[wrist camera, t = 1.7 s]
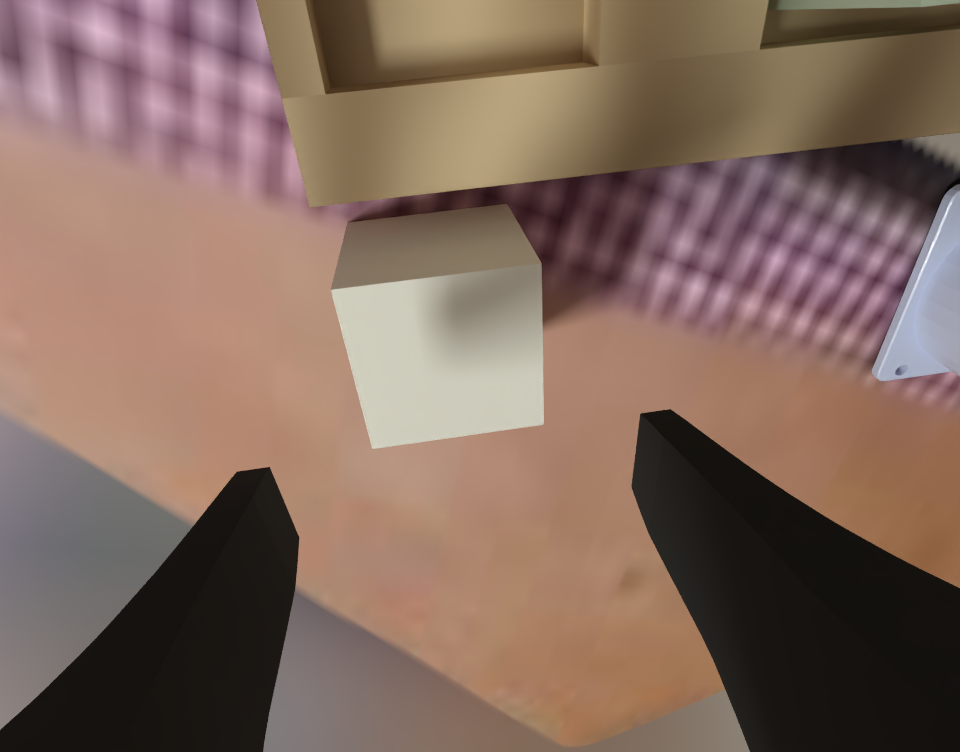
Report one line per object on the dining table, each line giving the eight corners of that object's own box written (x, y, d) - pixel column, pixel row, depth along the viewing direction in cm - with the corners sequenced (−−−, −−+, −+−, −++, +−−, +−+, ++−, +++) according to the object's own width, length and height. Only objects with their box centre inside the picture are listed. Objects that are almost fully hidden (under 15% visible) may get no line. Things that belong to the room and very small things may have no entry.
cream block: (506, 203, 17) (542, 263, 13) (513, 339, 20) (543, 424, 15) (347, 221, 16) (330, 289, 12) (378, 357, 19) (372, 449, 15)
